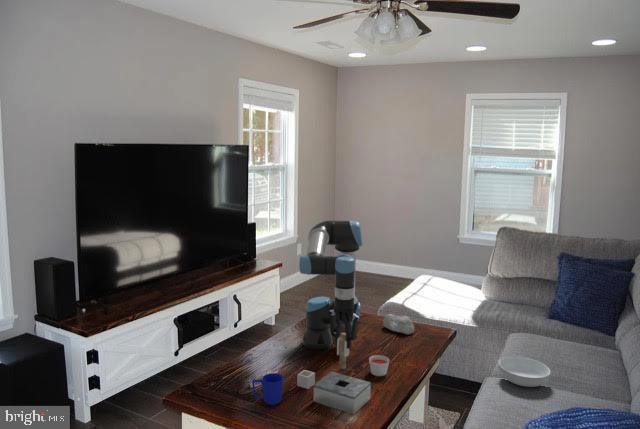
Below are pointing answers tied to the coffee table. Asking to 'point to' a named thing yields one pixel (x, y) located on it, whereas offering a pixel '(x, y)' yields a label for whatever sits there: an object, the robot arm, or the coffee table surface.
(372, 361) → the candle
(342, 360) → the peg
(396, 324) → the decorative stone
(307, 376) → the hollow square box
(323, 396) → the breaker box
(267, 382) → the mug
